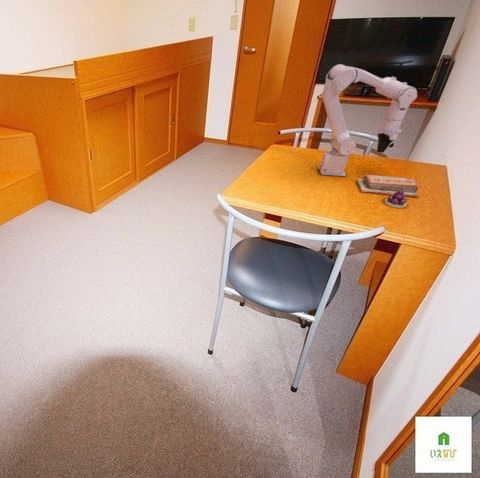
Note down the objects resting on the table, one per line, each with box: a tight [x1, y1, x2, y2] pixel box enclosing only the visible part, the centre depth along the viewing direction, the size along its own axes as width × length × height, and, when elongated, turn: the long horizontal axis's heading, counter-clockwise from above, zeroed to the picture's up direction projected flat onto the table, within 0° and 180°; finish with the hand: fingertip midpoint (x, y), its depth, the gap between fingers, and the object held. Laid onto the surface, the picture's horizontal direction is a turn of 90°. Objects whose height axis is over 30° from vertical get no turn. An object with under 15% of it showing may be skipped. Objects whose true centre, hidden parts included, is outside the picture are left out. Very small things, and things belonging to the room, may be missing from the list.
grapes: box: [384, 187, 408, 209], centre depth 116 cm, size 6×6×7 cm
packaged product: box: [356, 174, 419, 198], centre depth 126 cm, size 18×5×10 cm
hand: (380, 151), depth 135 cm, fingers closed
